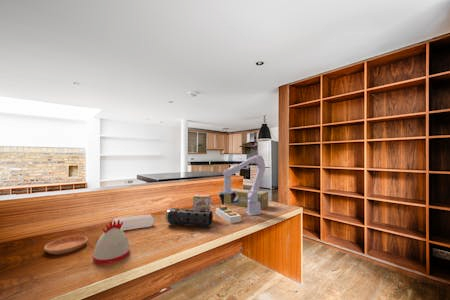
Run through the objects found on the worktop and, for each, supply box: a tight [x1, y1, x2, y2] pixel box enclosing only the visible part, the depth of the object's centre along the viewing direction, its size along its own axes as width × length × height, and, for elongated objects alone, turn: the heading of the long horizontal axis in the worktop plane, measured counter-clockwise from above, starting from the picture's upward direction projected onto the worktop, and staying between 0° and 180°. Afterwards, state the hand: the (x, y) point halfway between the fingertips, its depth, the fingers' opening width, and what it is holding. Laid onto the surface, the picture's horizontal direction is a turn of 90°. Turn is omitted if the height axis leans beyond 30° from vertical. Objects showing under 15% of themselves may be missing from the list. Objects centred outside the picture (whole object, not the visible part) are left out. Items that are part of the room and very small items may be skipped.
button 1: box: [218, 204, 228, 211], centre depth 145 cm, size 4×4×3 cm
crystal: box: [111, 213, 155, 232], centre depth 120 cm, size 7×7×24 cm
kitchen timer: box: [92, 220, 131, 265], centre depth 87 cm, size 14×14×15 cm
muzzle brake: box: [164, 208, 214, 229], centre depth 122 cm, size 10×28×10 cm, turn 78°
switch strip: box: [215, 207, 242, 224], centre depth 139 cm, size 8×24×4 cm, turn 25°
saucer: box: [44, 235, 89, 256], centre depth 93 cm, size 16×16×3 cm
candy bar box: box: [192, 194, 211, 211], centre depth 134 cm, size 11×5×16 cm, turn 84°
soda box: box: [221, 187, 269, 210], centre depth 175 cm, size 40×14×13 cm, turn 56°
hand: (227, 203), depth 147 cm, fingers open, 7 cm apart
